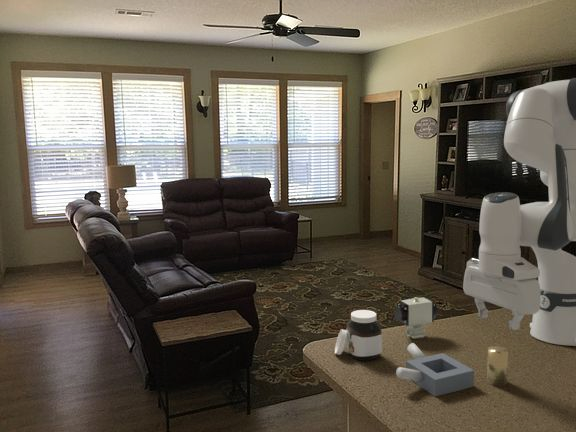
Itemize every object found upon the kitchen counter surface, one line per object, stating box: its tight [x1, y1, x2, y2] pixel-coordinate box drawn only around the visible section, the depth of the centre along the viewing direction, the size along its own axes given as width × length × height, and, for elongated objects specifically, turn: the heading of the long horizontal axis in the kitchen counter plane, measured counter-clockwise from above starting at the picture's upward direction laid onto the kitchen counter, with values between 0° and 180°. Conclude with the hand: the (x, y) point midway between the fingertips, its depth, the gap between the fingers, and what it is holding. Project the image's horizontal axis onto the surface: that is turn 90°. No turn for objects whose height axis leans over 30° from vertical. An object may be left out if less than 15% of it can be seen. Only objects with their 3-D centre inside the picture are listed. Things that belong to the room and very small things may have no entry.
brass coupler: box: [486, 345, 509, 387], centre depth 119 cm, size 4×4×8 cm
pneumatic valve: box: [394, 296, 439, 340], centre depth 148 cm, size 6×12×12 cm, turn 106°
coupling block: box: [395, 342, 475, 397], centre depth 122 cm, size 17×17×6 cm
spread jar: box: [334, 309, 383, 361], centre depth 136 cm, size 12×11×12 cm
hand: (497, 322), depth 117 cm, fingers open, 8 cm apart
